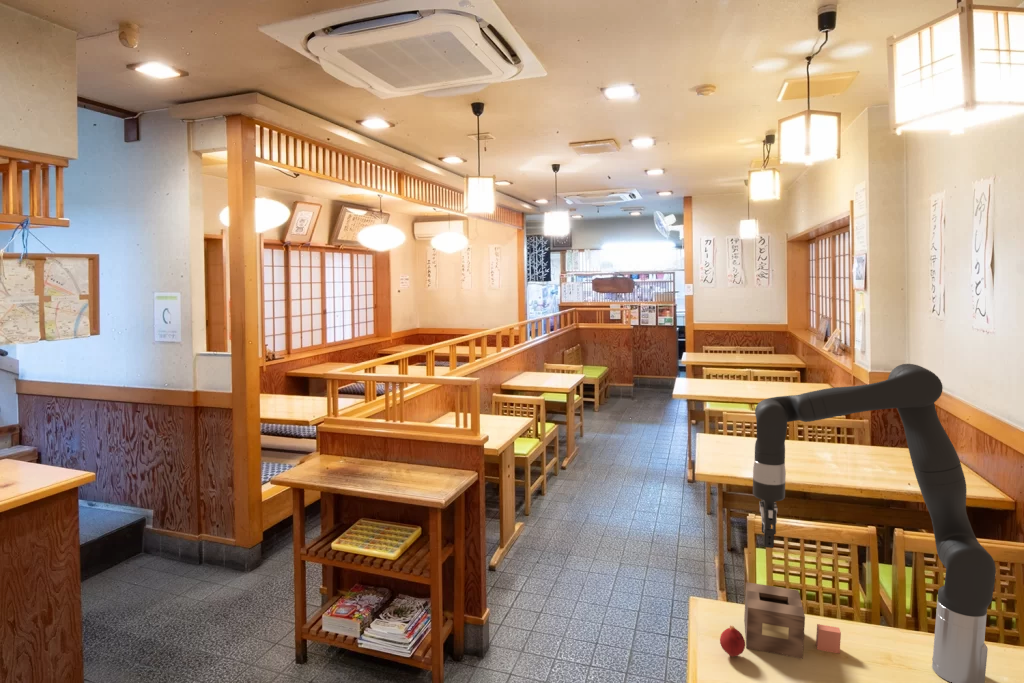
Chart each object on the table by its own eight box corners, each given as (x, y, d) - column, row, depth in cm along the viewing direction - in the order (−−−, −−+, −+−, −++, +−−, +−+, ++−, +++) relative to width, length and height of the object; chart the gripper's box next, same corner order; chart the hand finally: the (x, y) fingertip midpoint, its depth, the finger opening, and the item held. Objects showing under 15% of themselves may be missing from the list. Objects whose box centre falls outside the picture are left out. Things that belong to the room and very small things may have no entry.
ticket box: (796, 629, 158) (798, 590, 156) (802, 659, 145) (805, 617, 144) (744, 619, 162) (745, 582, 161) (746, 648, 150) (748, 607, 148)
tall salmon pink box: (837, 647, 150) (839, 627, 149) (839, 653, 147) (840, 633, 147) (815, 644, 151) (817, 623, 151) (817, 649, 149) (818, 629, 148)
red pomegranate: (740, 649, 149) (741, 619, 148) (747, 664, 144) (748, 633, 143) (717, 648, 150) (718, 618, 149) (722, 662, 144) (724, 632, 143)
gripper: (788, 489, 141) (786, 554, 143) (782, 470, 154) (780, 530, 156) (754, 486, 143) (753, 550, 145) (751, 468, 157) (750, 526, 158)
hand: (767, 539), depth 150 cm, fingers open, 8 cm apart
